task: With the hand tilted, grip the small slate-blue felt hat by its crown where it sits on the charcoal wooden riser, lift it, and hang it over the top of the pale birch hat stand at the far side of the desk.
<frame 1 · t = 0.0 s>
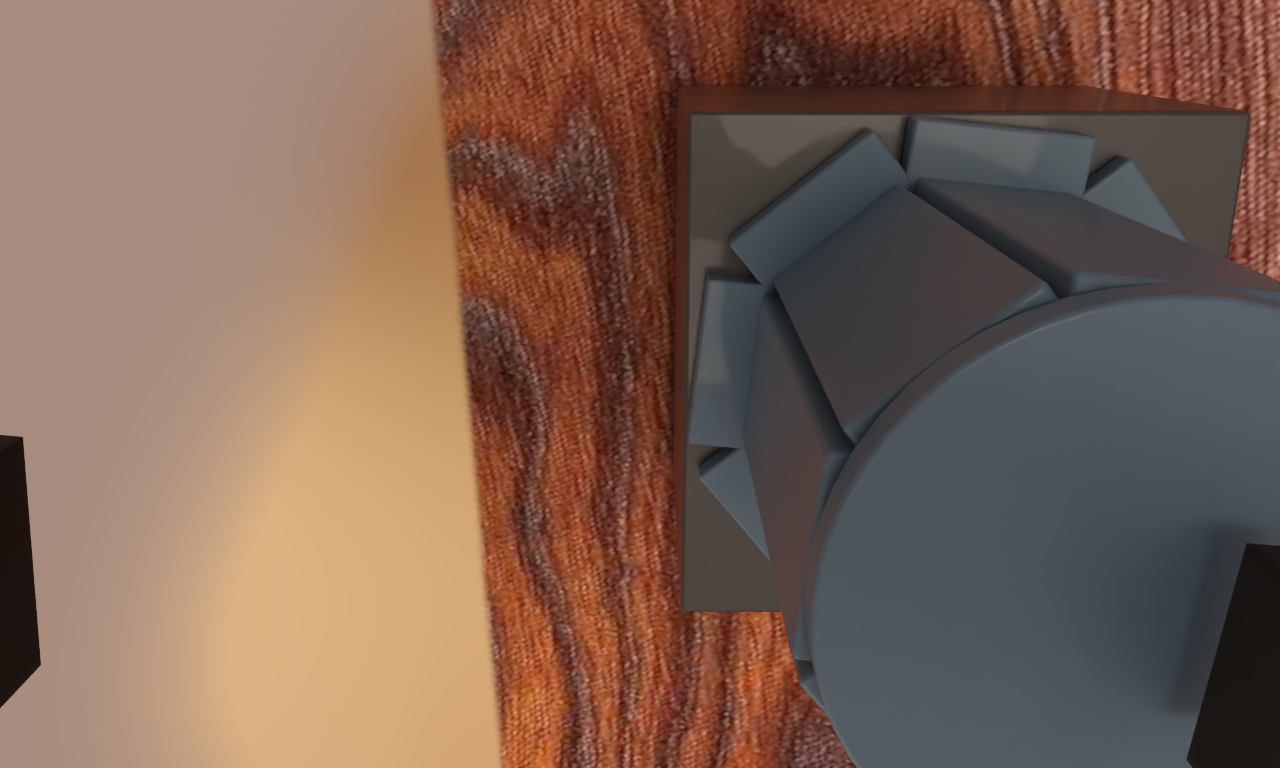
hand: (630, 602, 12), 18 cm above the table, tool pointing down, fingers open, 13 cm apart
riser: (869, 286, 29), on the table
hat: (946, 380, 22), point 8 cm above the table, touching riser
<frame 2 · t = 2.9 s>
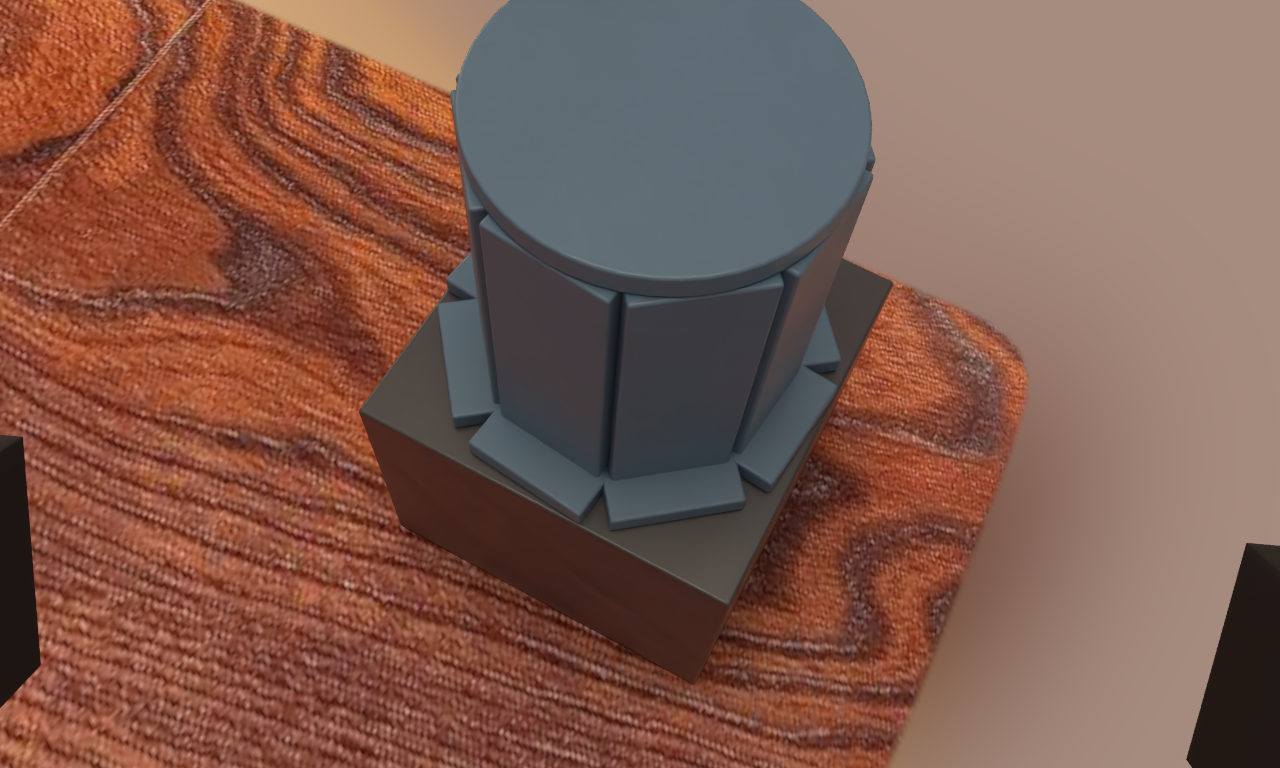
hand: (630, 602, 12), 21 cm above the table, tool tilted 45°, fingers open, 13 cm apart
riser: (623, 467, 36), on the table
hat: (637, 343, 29), point 8 cm above the table, touching riser
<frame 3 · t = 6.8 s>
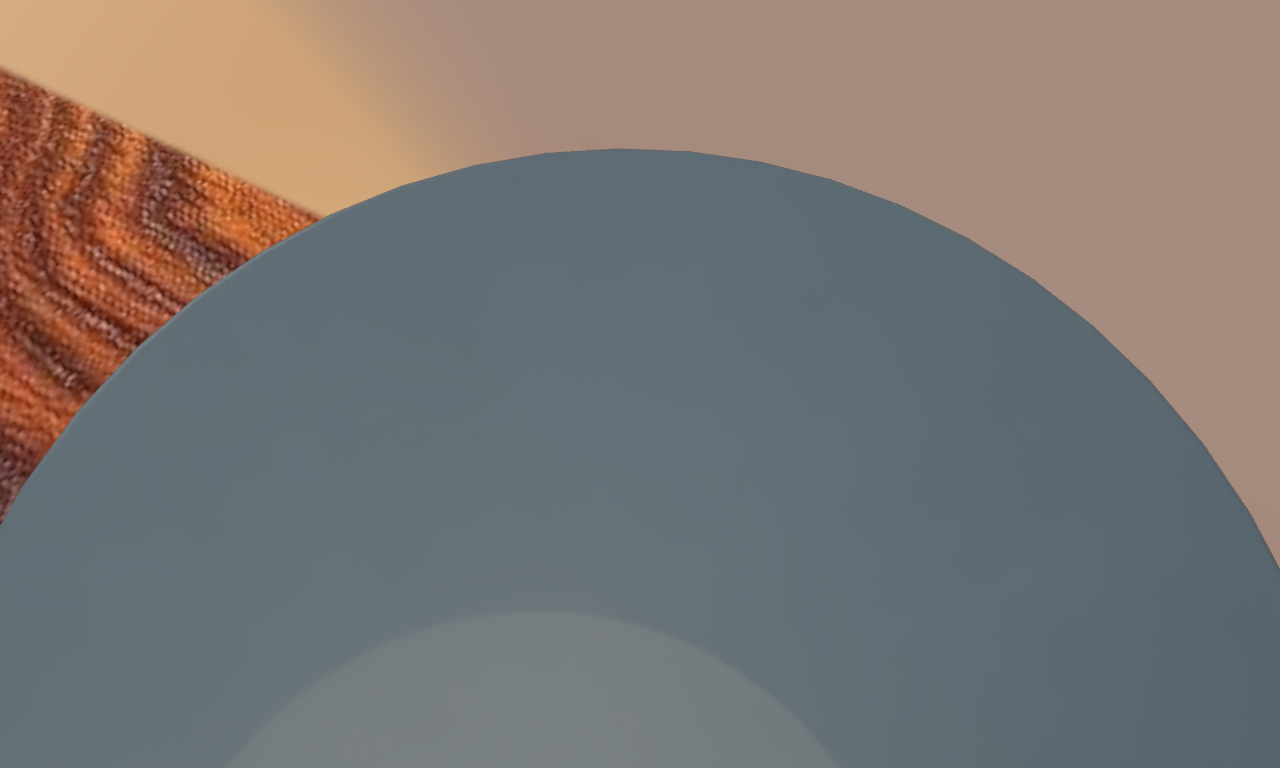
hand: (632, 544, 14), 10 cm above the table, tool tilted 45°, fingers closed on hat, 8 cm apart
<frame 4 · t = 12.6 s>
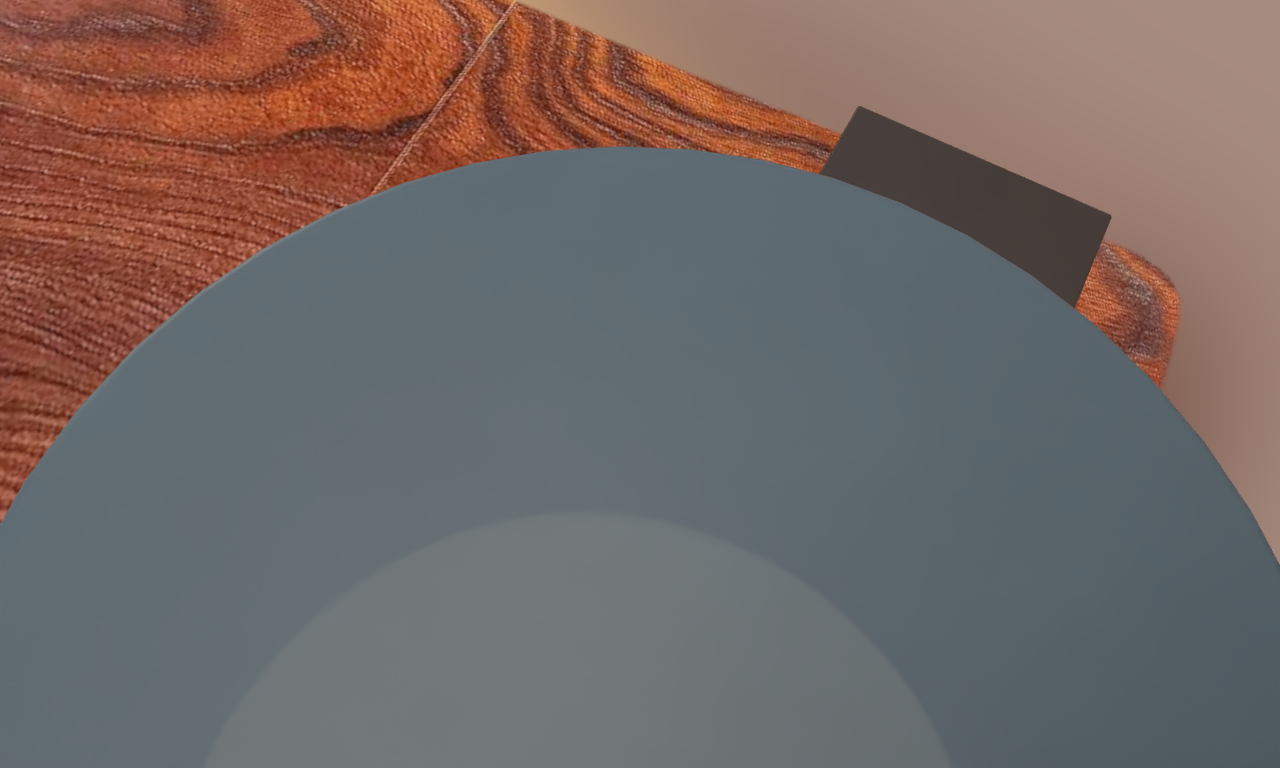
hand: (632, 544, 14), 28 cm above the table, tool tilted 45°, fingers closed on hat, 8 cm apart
riser: (879, 365, 47), on the table
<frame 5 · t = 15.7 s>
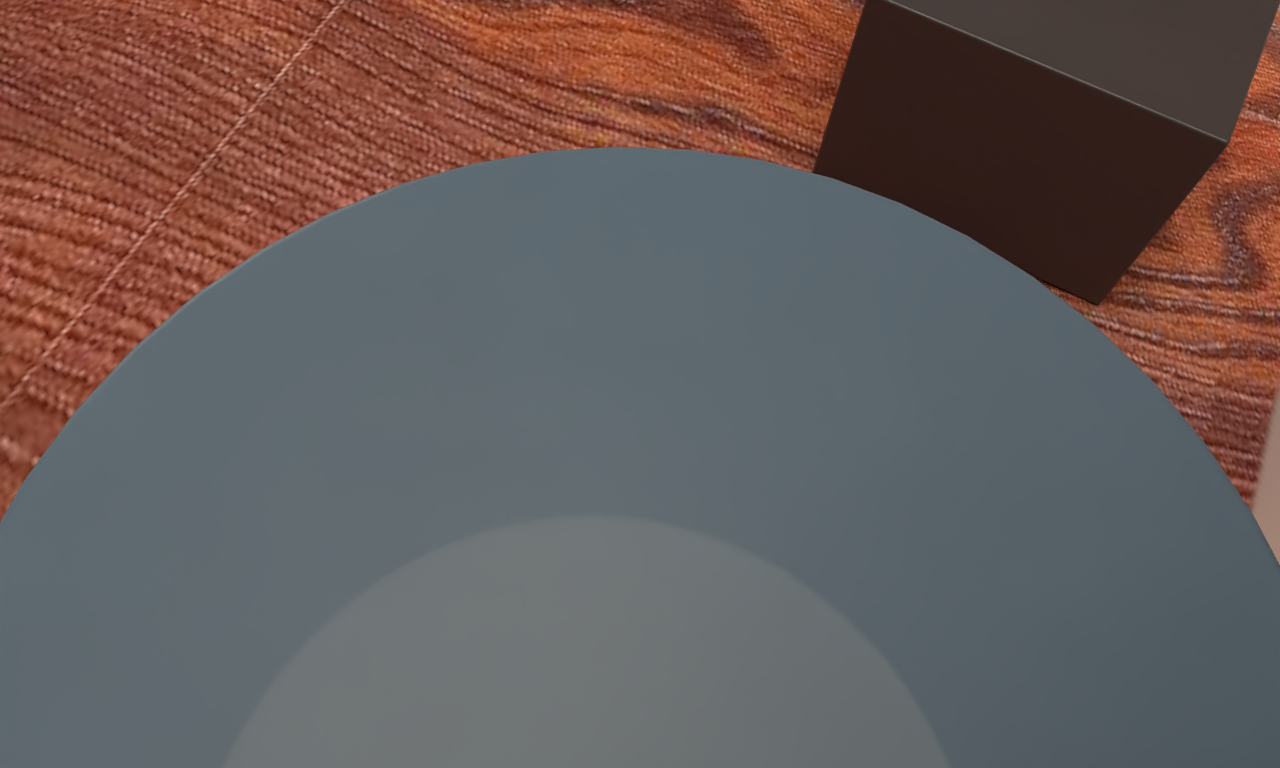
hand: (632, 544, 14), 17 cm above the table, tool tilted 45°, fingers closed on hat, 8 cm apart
riser: (1003, 134, 39), on the table
when the fingers open (10 cm above the table, at t = 18.2 s): hat stays where it is, resting on hat stand.
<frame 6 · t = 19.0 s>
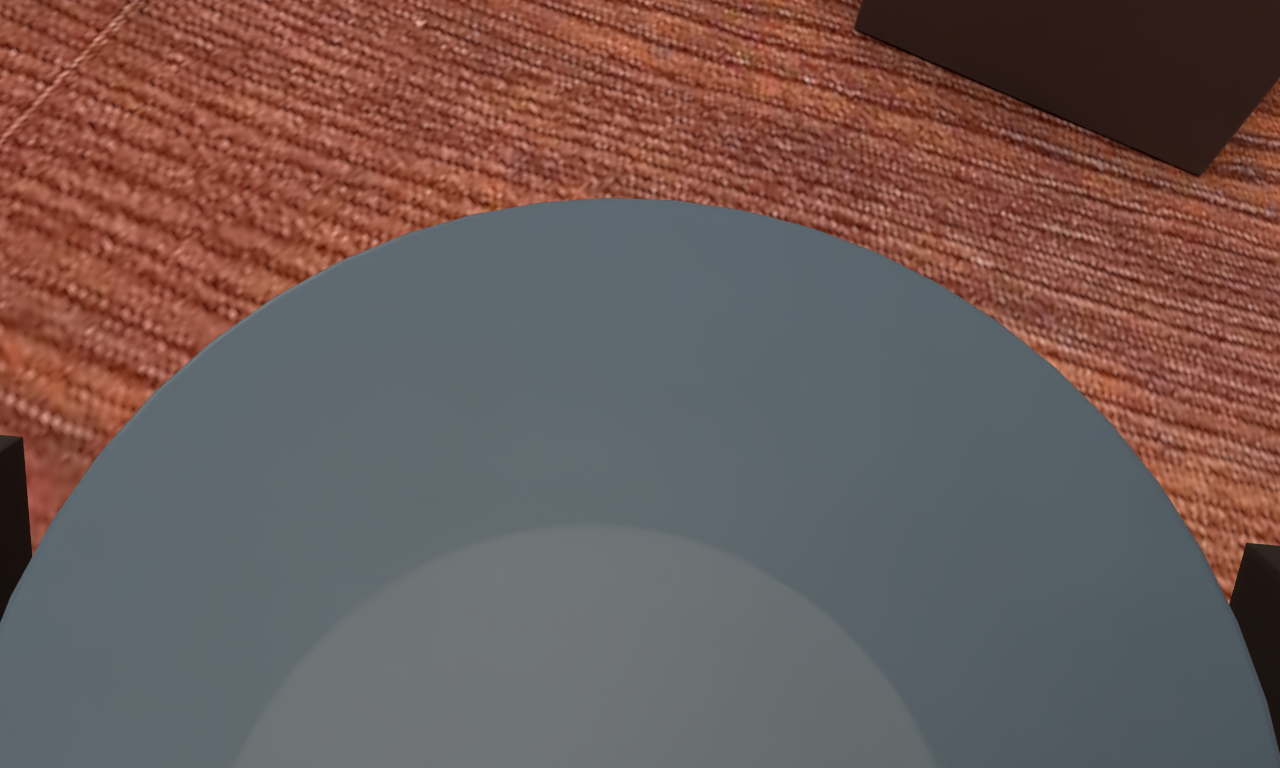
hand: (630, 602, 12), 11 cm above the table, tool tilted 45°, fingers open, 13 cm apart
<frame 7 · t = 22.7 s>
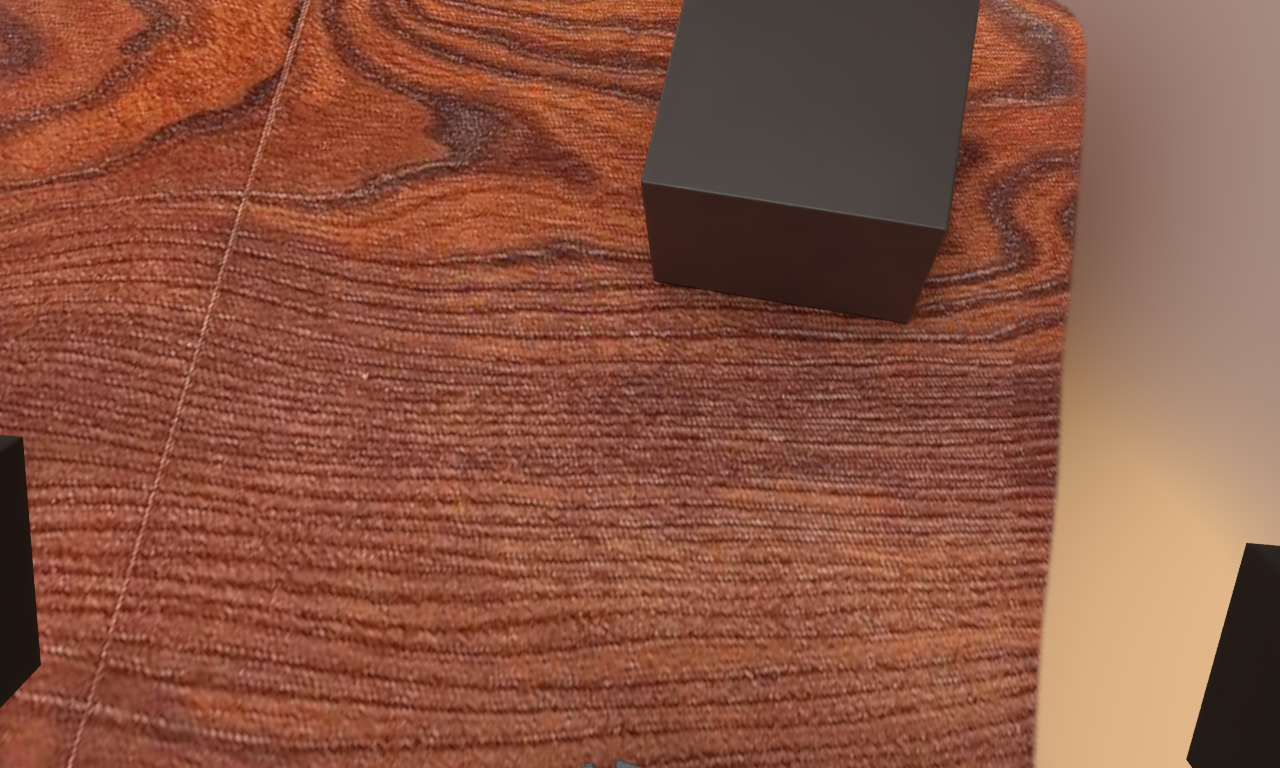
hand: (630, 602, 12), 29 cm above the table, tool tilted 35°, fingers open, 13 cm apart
riser: (800, 189, 46), on the table
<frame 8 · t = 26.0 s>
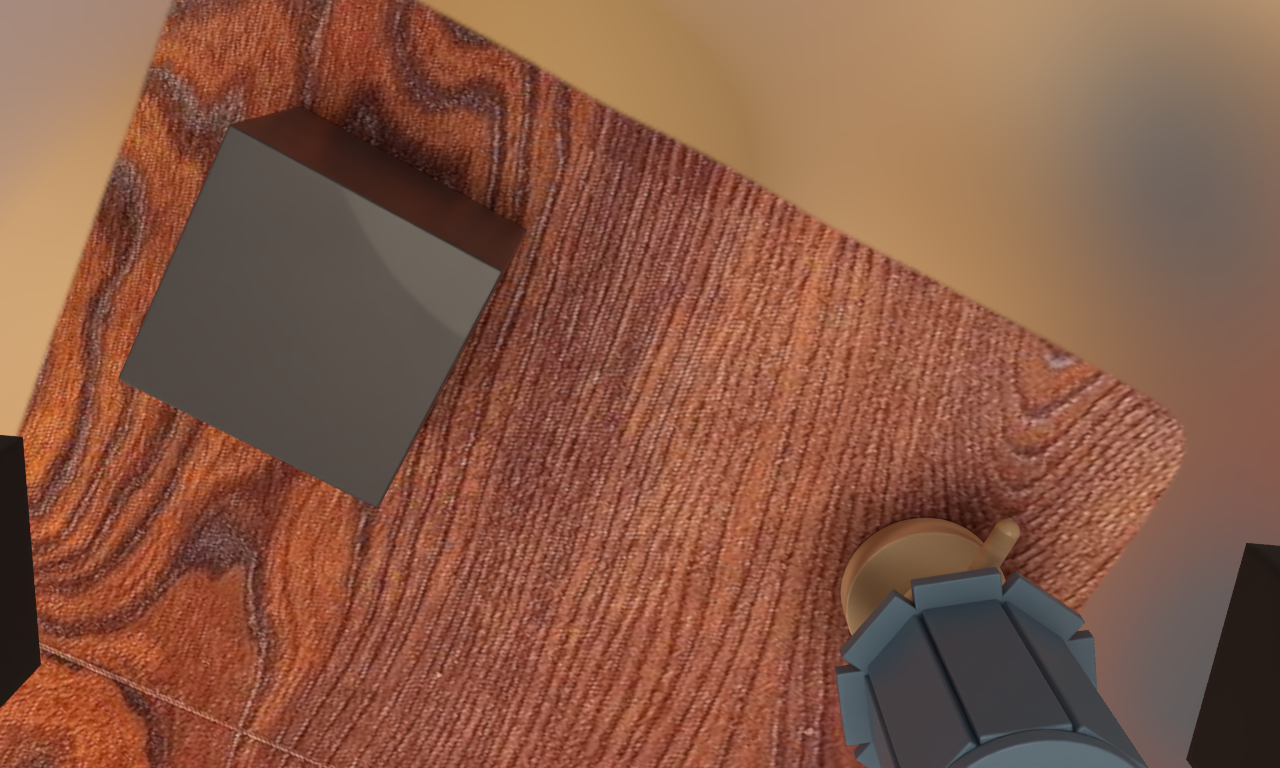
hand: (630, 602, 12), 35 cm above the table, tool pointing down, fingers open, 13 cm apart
riser: (362, 276, 47), on the table
hat: (964, 684, 44), point 8 cm above the table, touching hat stand
hat stand: (919, 588, 51), on the table
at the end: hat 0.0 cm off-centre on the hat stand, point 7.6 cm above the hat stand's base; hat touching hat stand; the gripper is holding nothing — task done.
